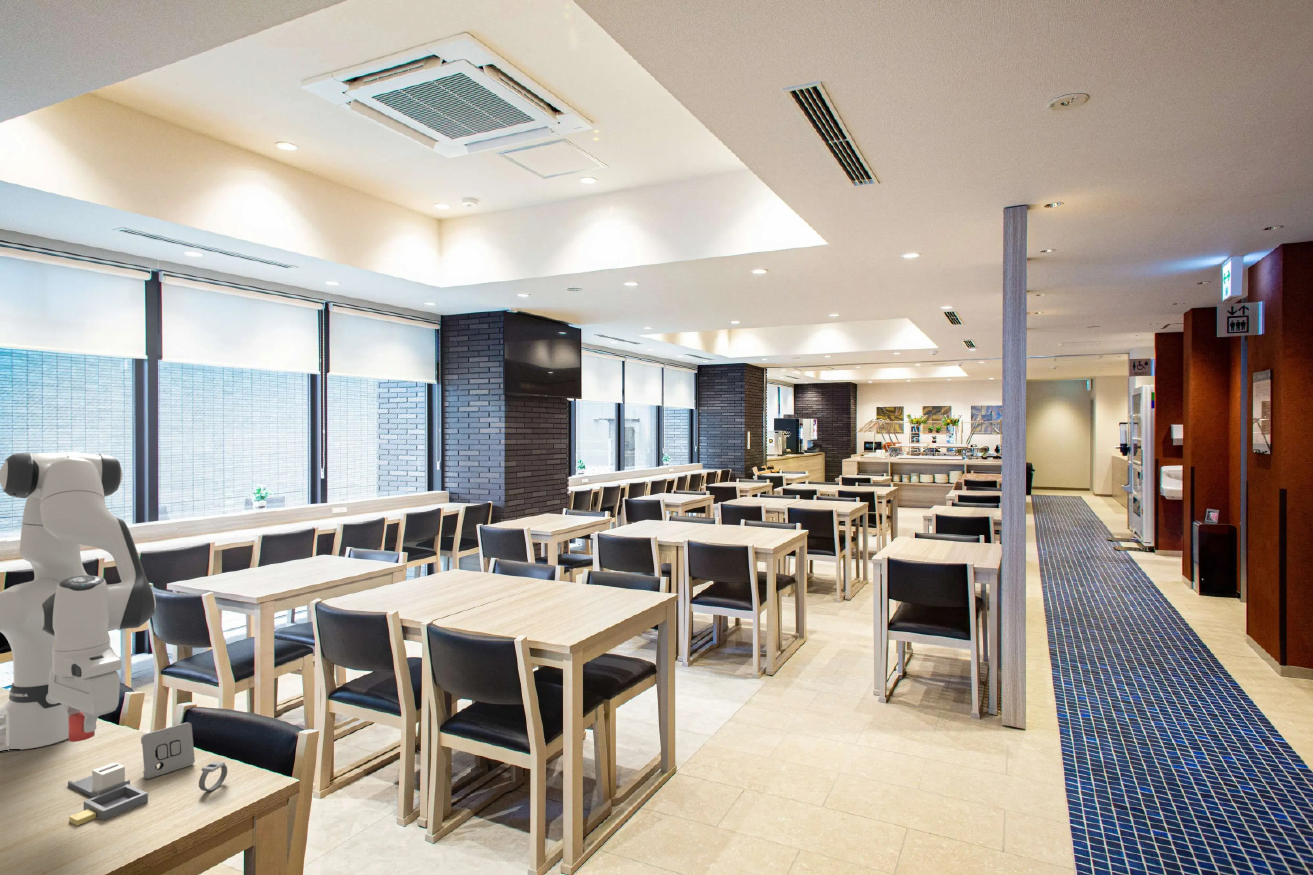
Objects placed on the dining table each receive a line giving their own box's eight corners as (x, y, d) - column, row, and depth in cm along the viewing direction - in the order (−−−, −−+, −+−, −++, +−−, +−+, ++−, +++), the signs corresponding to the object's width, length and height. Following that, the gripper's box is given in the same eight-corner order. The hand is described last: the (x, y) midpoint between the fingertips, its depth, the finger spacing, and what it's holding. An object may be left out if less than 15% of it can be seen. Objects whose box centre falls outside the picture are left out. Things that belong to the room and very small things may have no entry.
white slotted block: (92, 791, 140) (92, 769, 140) (114, 783, 143) (114, 761, 143) (102, 796, 138) (102, 773, 138) (124, 787, 141) (124, 765, 141)
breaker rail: (67, 786, 143) (67, 776, 143) (98, 774, 148) (98, 765, 148) (99, 801, 137) (99, 791, 137) (129, 789, 142) (129, 779, 142)
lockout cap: (67, 737, 135) (67, 714, 135) (93, 731, 138) (93, 709, 138) (69, 743, 132) (69, 720, 132) (96, 736, 135) (96, 714, 135)
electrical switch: (145, 781, 145) (144, 736, 146) (137, 776, 149) (137, 732, 149) (195, 765, 153) (194, 722, 153) (187, 760, 156) (186, 719, 157)
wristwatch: (219, 780, 146) (219, 757, 146) (230, 782, 145) (230, 758, 145) (195, 795, 140) (195, 771, 140) (206, 796, 139) (206, 772, 139)
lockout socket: (63, 818, 131) (63, 809, 131) (127, 792, 140) (128, 783, 140) (83, 828, 127) (83, 819, 127) (147, 801, 137) (147, 792, 137)
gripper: (38, 656, 137) (38, 724, 137) (87, 671, 128) (88, 745, 128) (76, 647, 143) (76, 713, 143) (126, 661, 133) (126, 732, 133)
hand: (82, 728), depth 135 cm, fingers closed on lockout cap, 4 cm apart
